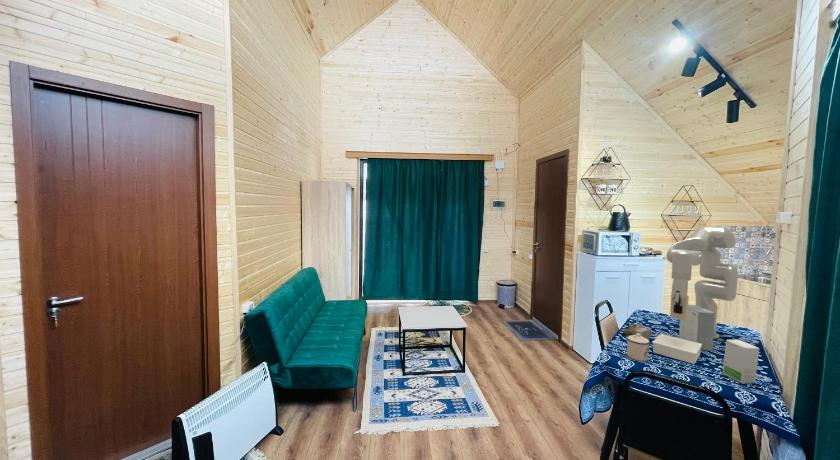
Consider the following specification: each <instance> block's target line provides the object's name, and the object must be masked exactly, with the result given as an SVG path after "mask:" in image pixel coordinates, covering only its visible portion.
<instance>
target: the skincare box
mask: <svg viewBox="0 0 840 460" xmlns="http://www.w3.org/2000/svg"><path fill="white" fill-rule="evenodd" d="M759 354H760V348H759V347H757V346H755V345H753V344H751V343H748V342H745V341H743V340H740V339H726V340H725V349H724V358H723V366H722V374H723V375H725V376H727V377H729V378H730V379H733V380H735V381H736V382H738V383H741V384H756V378H757V377H756V376H757V370H758V360H759Z"/></svg>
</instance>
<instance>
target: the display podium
mask: <svg viewBox="0 0 840 460" xmlns="http://www.w3.org/2000/svg"><path fill="white" fill-rule="evenodd" d="M652 344H653V346H652V349H653V350H652V351H653V354H654V353H655V354H658V355H661V356H665V357H669V358H670V359H671V358H672V359H675V360H679V361H683V362H685V363H688V364H693V365H695V364H696V362H697V360H698V359H699V357H700V355H701V352H702V350H701V346H702V344H701V343H696V342H692V341H688V340H684V339H680V338H679V337H674V336H671V335H667V334H663V333H660V334H659V335H658V336H657V337H656V338H655V339H654V340H653V341H652Z"/></svg>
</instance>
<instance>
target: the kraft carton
mask: <svg viewBox="0 0 840 460" xmlns="http://www.w3.org/2000/svg"><path fill="white" fill-rule="evenodd" d="M679 299H681V298H679ZM689 299H690V297H689V295H688V294H687V295H686V296H685V298H684V300H682V314H678V313H674V302H675V297H674V298H673V299H672V298H671V297H670V310H669V311H670V312H669V317H670V318H673V319H677V320H680V319H682V320H686V319H687V317H688V305H689V301H690V300H689Z"/></svg>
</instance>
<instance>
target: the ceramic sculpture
mask: <svg viewBox="0 0 840 460" xmlns="http://www.w3.org/2000/svg"><path fill="white" fill-rule="evenodd" d="M619 331H621V332H622V333H624V334H625V335H628V336H631V335H636V333H639V334H641V336H642V337H644V338H646V339H648V340H650V338H651V336H652V329H651V328H645V326H644V325H643V323H640V322H637V323H631V324H629V327H628V329H626V328H624V329H621V328H619Z"/></svg>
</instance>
